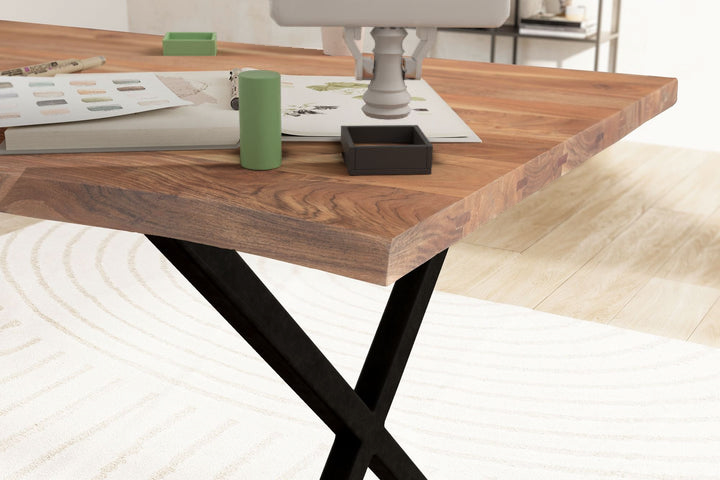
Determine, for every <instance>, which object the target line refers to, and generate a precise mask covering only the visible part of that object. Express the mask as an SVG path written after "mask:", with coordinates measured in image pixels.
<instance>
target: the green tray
mask: <svg viewBox="0 0 720 480" xmlns="http://www.w3.org/2000/svg"><path fill="white" fill-rule="evenodd" d="M217 36H218V35H217V32H216V31H166V32H165V34H164V36H163V39H162V40H161V41H162V55H163V57H216V56H217V52H218V41H217V40H218V39H217Z"/></svg>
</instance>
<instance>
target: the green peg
mask: <svg viewBox="0 0 720 480" xmlns="http://www.w3.org/2000/svg"><path fill="white" fill-rule="evenodd" d="M237 83H238V84H237V87H238V89H237V90H238V120H239V121H238V122H239V152H240V154H239V155H240V166H241V167H243V168H244V169H249V170H253V171H269V170H274V169H277V168H279V167H281V166H282V164H283V162H282V161H283V160H282V75H281V73H280V72H278V71H274V70H268V69H251V70H244V71H241V72H239V73H238V74H237Z"/></svg>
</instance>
